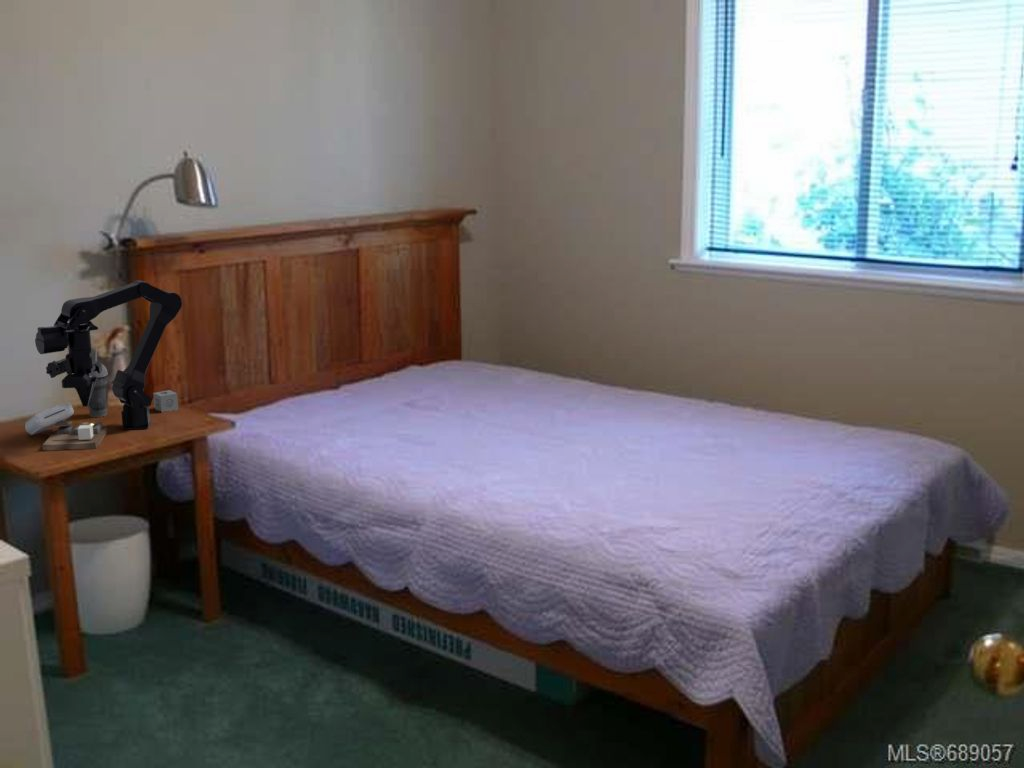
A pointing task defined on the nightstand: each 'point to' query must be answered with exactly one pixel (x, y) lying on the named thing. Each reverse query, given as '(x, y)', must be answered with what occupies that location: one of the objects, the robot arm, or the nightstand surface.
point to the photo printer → (49, 418)
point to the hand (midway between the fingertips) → (85, 406)
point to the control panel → (74, 438)
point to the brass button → (89, 424)
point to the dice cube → (165, 401)
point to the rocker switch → (64, 423)
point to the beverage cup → (99, 393)
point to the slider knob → (85, 432)
